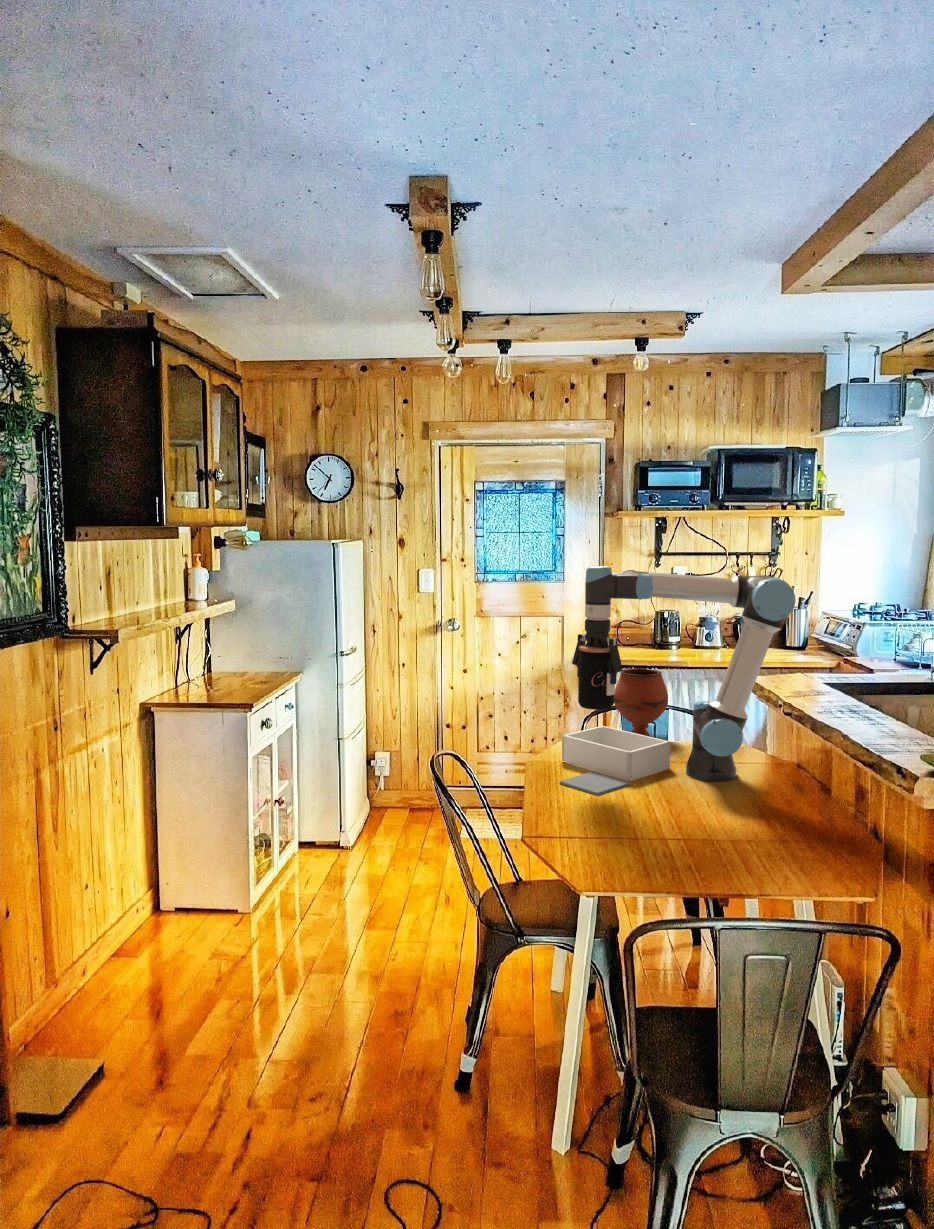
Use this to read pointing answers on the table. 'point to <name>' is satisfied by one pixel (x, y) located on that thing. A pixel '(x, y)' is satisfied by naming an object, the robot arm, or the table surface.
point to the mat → (595, 783)
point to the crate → (616, 752)
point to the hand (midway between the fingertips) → (596, 691)
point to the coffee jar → (594, 678)
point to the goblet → (641, 697)
